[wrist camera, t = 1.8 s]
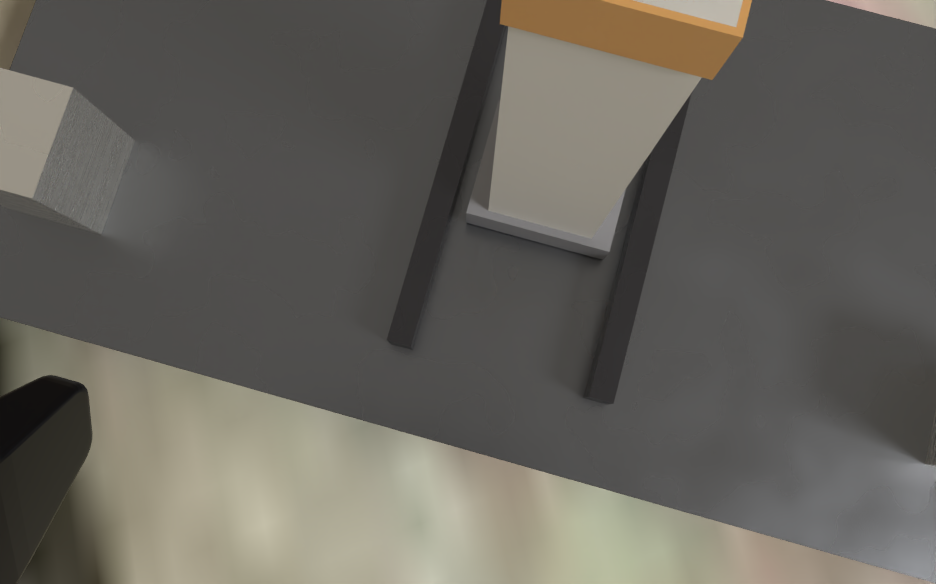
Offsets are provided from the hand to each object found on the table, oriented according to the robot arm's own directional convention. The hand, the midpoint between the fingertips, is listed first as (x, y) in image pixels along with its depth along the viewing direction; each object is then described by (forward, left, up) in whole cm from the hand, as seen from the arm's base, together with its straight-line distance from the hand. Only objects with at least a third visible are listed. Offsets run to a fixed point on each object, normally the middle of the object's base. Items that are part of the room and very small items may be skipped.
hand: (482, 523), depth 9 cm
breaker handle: (+6, +4, -12) cm, 14 cm away
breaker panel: (+6, +4, -13) cm, 15 cm away
